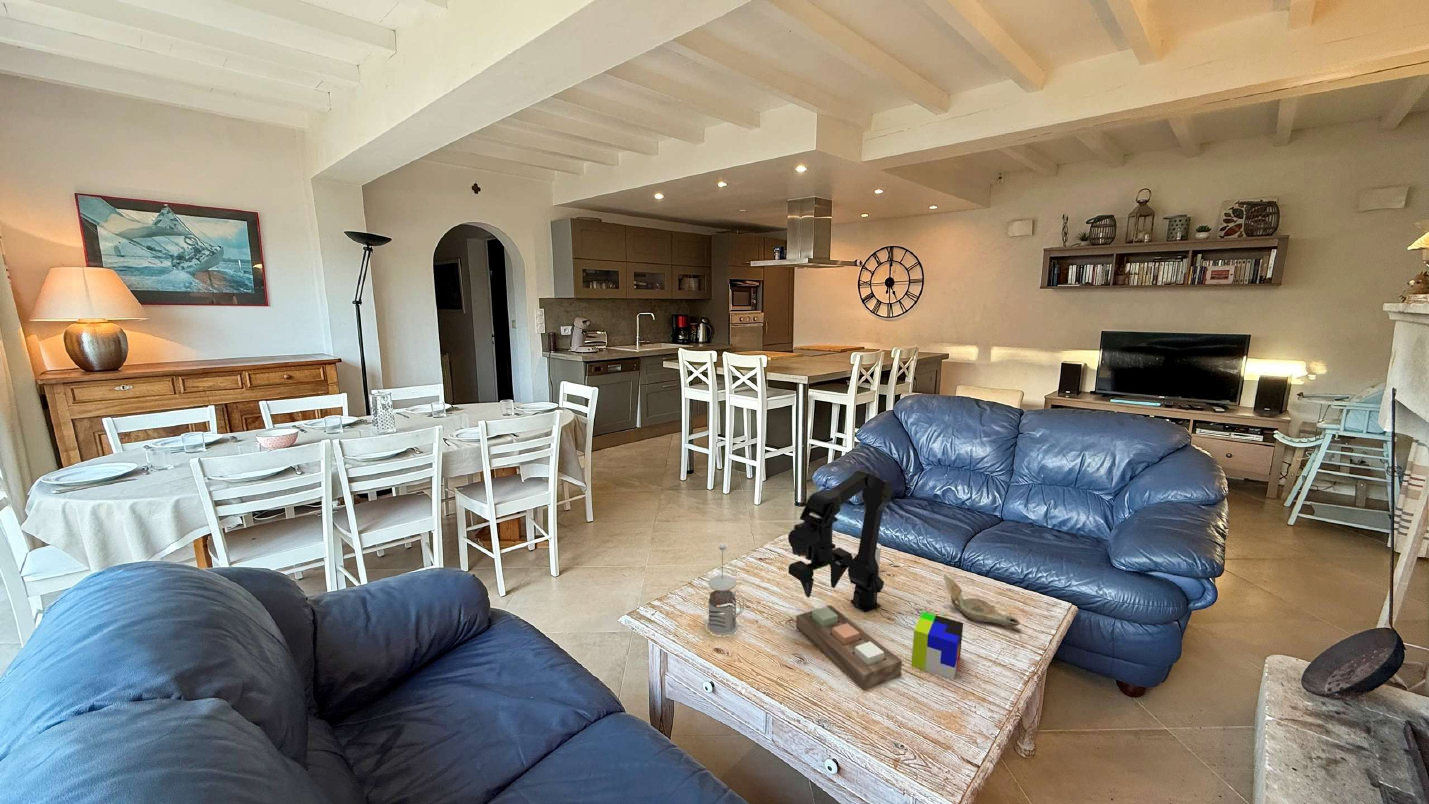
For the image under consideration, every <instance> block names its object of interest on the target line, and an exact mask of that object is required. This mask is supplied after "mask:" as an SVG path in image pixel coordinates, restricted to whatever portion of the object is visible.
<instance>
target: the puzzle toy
mask: <svg viewBox="0 0 1429 804" xmlns="http://www.w3.org/2000/svg"><path fill="white" fill-rule="evenodd" d="M963 628H964V622H962V621H961V622H960V621H958V620H954V619H951V618H947V617H943V616H940V615H937V614H933V613H930V612H926V611H922V612H921V615H920V616H919V618H918V620H917V622H916V625H915V627H914V630H913V640H912V652H911V654H912V655H911V666H912V667H914V668H918V669H919V670H924V671H925V672H926V671H927V672H929V673H932V674H936V675H938V676H941V677H945V678H947V679H950V680H952V681H953V680H955V677H956V672H957V670H958V666H959V662H960V660H961V655H962V654H961V652H962V650H961V649H962V643H963V641H962V640H963V630H964V629H963Z"/></svg>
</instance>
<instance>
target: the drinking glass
mask: <svg viewBox="0 0 1429 804" xmlns="http://www.w3.org/2000/svg"><path fill="white" fill-rule="evenodd" d="M881 554H882V545H881V543H878V542H877V547H876V553H875V559H876V561H877V564H878V567H879V568H880V564H881ZM879 572H880V570H879V571H878V574H879Z"/></svg>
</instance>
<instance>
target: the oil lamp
mask: <svg viewBox="0 0 1429 804" xmlns="http://www.w3.org/2000/svg"><path fill="white" fill-rule="evenodd" d="M943 580H944V583H945V587H946V589H947V590H948V593H949V595H950V600H951V604H952V605H953V606H954V607H955V608H956V609H957V610H960V611H961V613H963V615H964V616H966V617H967V618H968V619H969V620H971V621H974V622H978V623H979V622H983V623H986V622H987V623H994V624H999V625H1003V626H1006V627H1013V628H1014V627H1017V626H1019V625H1020V621H1019V619H1018V618H1015V617H1013V616H1011V615H1007V614H1002V613H1001V612H1000V611H998V610H997V609H996V607H995V605H992V604H991V603H989V602H987V601H985V600H983V599H979V598H974V597H973V598H972V597H970V598H969V597H968V598H964V597H963V595H962V592H963V589H962V588H961V587H960V585H958V584H957V583H956V581H954V580H953V579H951V578H950V577H948V576H947V575H946V574H943ZM956 602H957V603H956Z"/></svg>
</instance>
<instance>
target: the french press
mask: <svg viewBox="0 0 1429 804" xmlns="http://www.w3.org/2000/svg"><path fill="white" fill-rule="evenodd" d="M718 547H719V548H718V549H719V550H720V551H721V574H718V575H714V576H713V577H710V578H709V580H708V581H707V585H708V586H709V588H710V589H712V590H713V591H712V592H710V594H709V599H708V621H709V622H708V621H707V622H708V623H706V624H707V629H708V630H709V631H710V632H712V633H713V634H716V635H721V636H725V635H726V636H727V635H732V634H734V633H735V632H736V631H737V630H738V627H739V628H740V625H738V624H739V623H738V622H737V617H738V616H740V615H741V614H742V613H743V612H744V610H745V600H744V597H743V595H742V594H741V592H740V591H738V590H737V589H736V590H735V591H734V592H733V591H731V590H733V589H735V588H736V586H737V583H738V581H737V580H736V579H735V578H734V577H732V576H730V575H727V574H724V565H723V564H724V560H723V559H724V551H725V550H726V549H727V547H726V545H725V544H720V545H719V546H718ZM737 593H738V594H739V595H740V597H741V600H742V603H741V601H740V599H739V597H738V595H737ZM736 598H737V599H736ZM737 600H738V603H739V612H738V613H737ZM742 604H743V605H742ZM722 605H723V606H722ZM734 635H735V634H734Z"/></svg>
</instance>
